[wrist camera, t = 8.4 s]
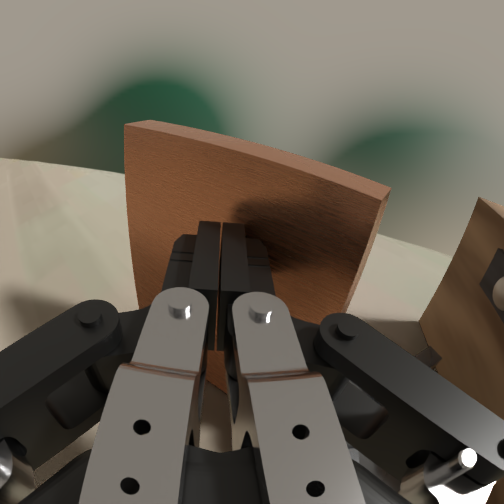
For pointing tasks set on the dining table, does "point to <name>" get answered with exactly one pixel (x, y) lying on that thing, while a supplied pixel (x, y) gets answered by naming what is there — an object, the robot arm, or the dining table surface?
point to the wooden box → (473, 316)
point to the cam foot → (253, 221)
